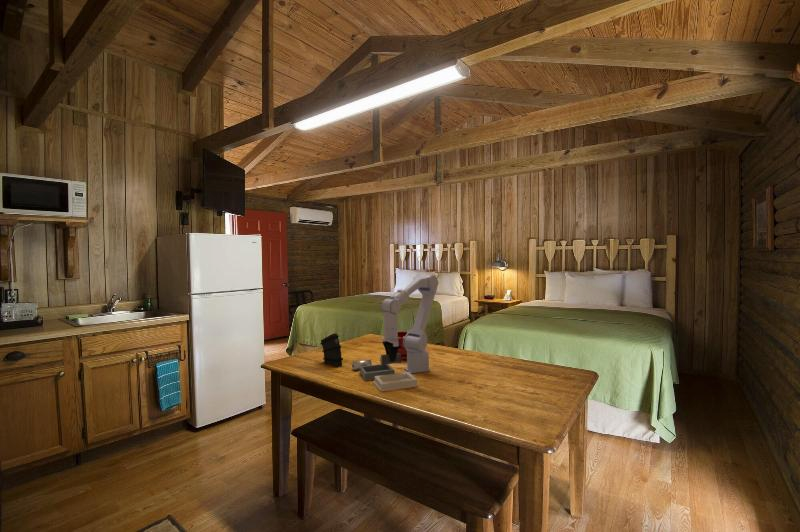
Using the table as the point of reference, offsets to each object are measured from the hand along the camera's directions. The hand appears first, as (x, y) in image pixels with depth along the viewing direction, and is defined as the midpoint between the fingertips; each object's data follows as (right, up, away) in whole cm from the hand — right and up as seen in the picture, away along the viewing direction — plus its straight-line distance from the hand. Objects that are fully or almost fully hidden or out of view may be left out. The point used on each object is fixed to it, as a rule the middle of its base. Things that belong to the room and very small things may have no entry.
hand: (391, 359), depth 162 cm
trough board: (+2, -9, -6) cm, 11 cm away
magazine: (-29, -8, +23) cm, 38 cm away
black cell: (0, -2, 0) cm, 2 cm away
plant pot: (+5, -7, +32) cm, 33 cm away
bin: (-6, -8, +6) cm, 12 cm away
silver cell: (-14, -8, +16) cm, 23 cm away
